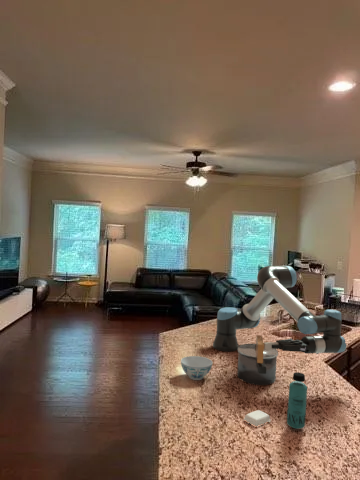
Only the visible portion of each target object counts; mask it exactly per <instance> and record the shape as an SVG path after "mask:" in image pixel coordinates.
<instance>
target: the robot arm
mask: <svg viewBox="0 0 360 480" xmlns="http://www.w3.org/2000/svg"><path fill="white" fill-rule="evenodd" d="M297 278H298V277H297V273H296V270H295V269H294V268H293V267H292V266H289V265H267V266H264V267H262V268H261V269H260V270H259V271H258V273H257V278H256V279H257V284H258V285H259V287H260V288H261V289H259V291H258V292H257V293H256V294H255V296H254V297H253V298H252V299H251V300H250V302H248V303H246V304H244V305H243V306H242V307H241V308H240V309H237V308H236V307H232V306H231V307H229V306H227V307H221V308H220V309H219V310H218V311H217V315H216V334H215V338H214V340H213V342H212V348H213V349H214V350H218V351H222V352H235V351H238V346H239V342H238V339H237V330H246V329H254V328H257V327H259V324H260V322H261V313H262V312H263V311H264V310H265V309H266V307H268V305H270V303H271V302H272V301H273V300H275V301H276V302H277V303H278V304H279V306H281V307H282V309H284V310H285V311H286V312H287V313H288V314H289V315H290V316H291V317H292V318H293V319H294V320H295V321H296V322H297V328H298V331H299V333H301V334H304V335H309V336H303V337H302V338H301V339H293V338H287V339H278V340H275V341H269V342H267V341H266V342H264V341H263V343H264V349H276V350H281V351H282V352H297V353H298V352H299V353H304V354H307V355H308V354H309V355H310V354H316V355H319V354H337V353H338V354H340V353H343V352H345V351H346V349H347V343H346V339H345V338H344V336H342V335H341V334H342V332H341V331H342V312H341V311H340V310H336V309H326V310H324V312H323V315H315V314H313V312H311V310H310V309H308V308H307V307H306V306H305V305H304V304H303V303H302V302H300V300H299V299H297V297H295V295H294V294H292V293H291V292H290V291H289V290H288V289H287V288H289V289H290V288H293V287H294V286H295V285H296V284H297V281H298V280H297ZM320 333H322V335H315V334H320ZM313 334H314V335H315V336H314V335H313ZM310 335H313V336H310Z"/></svg>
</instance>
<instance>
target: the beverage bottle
mask: <svg viewBox="0 0 360 480" xmlns="http://www.w3.org/2000/svg"><path fill="white" fill-rule="evenodd" d="M292 380H293V381H291V382H290V383H289V385H288V387H289V389H288V400H287V407H286V408H287V411H286V424H287V425H288V426H289V428H290V427H291V428H294V429H297V430H300V429H304V428H305V426H306V418H307V417H306V416H307V414H306V413H307V398H308V397H307V395H308V386H307V385H306V384H305V383H304V382H305V381H306V377H305V374H304V373H303V372H293V375H292Z"/></svg>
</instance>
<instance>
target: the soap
mask: <svg viewBox="0 0 360 480" xmlns="http://www.w3.org/2000/svg"><path fill="white" fill-rule="evenodd" d="M244 420H246V421H247V422H249V423H250V424H253V425H255V426H258V425H261V424H264V423H266V422H269V421H272V420H271V417H270V415H269V414H267V413H266V412H264V411H262V410H260V409H257V410H254V411H251V412H249V413H247V414H245V415H244V418H243V421H244ZM249 423H248V424H249ZM269 423H270V422H269ZM250 424H249V425H250Z"/></svg>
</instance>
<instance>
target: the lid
mask: <svg viewBox="0 0 360 480" xmlns="http://www.w3.org/2000/svg"><path fill="white" fill-rule="evenodd" d="M255 336H256V337H255V343H244V344H243V343H242V344H240V345H238V350H237V353H238V354H239V353H240V354H242V355H244V356H247V357H252V358H257V363H263V359H270V358H275V357H278V356H279V351H278V349H264V340H263V339H264V338H263V335H258V334H257V335H255Z"/></svg>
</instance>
